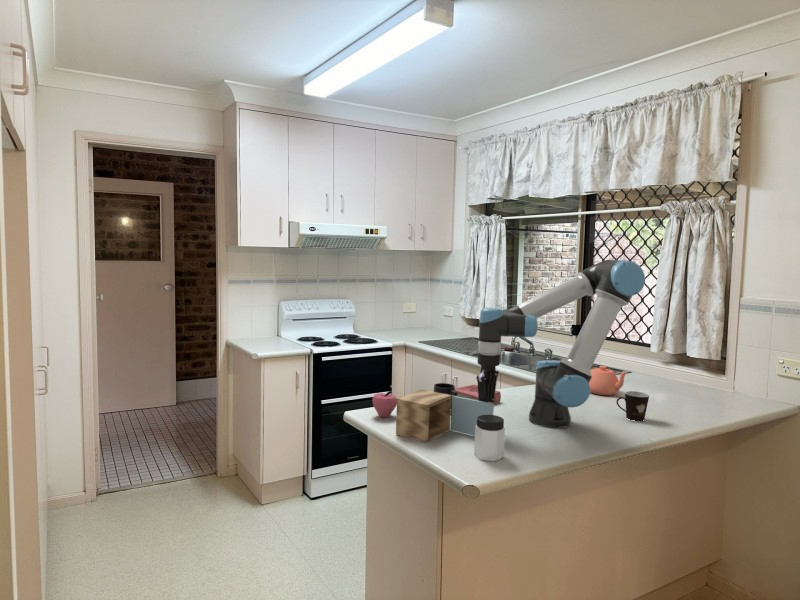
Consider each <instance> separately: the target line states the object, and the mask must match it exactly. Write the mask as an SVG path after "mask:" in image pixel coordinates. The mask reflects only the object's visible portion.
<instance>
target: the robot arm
mask: <svg viewBox="0 0 800 600" xmlns="http://www.w3.org/2000/svg"><path fill="white" fill-rule="evenodd" d="M645 276H646V275H645V273H644V270H643V268H642V267H641V266H640V265H639V264H638V263H636V262H635V261H630V260H626V259H621V260H619V259H605V260H604V259H603V260H602V261H599V262H598V263H595V264H593V265H591V266H589V267H587V268H585V269H583V270H581V271H579V272H578V273H577V275H576V276H575V277H573V278H571V279H569V280H567V281H565V282H563V283H561V284H559V285H557V286H555V287H552V288H550V289H548V290H546V291H544V292H542V293H539V294H538V295H535V296H533V297H532V298H529V299H527V300H526V301H523V302H520V303H519V304H517V305H515V306H512V307H511V308H508V309H507V308H506V309H501V308H497V307H484V308H481V310H480V313H479V321H478V322H479V323H478V325H479V326H478V327H479V328H478V342H477V345H478V346H477V347H478V350H477V351H478V353H477V361H476V362H477V364H478V365H480V370H479V371H480V374H479V375H476V377H475V378H476V381H477V385H478V399H479V401H483V402H488V403H491V402H494V400H492V399H494V395H495V390H497V389H496V388H497V383H498V382H497V380H498V377H499V373H500V372H499V370H497V368H496V367H498V366H500V362H501V355H500V353H501V348H502V347H501V345H502V337H510V338H511V337H512V338H513V337H516V338H518V337H519V338H533V337H535V336H536V334H537V333H538V328H539V327H538V325H539V324H538V319H539V318H541V317H544V316H546V315H548V314H550V313H551V312H553V311H554V312H555V311H556V310H559V309H560V308H562V307H565V306H566V305H568V304H571V303H573V302H575V301H577V300H579V299H581V298H583V297H585V296H588V297H592V296H594V295H596V298H595V300H594V302H593V304H592V306H591V309H590V311H589V313H588V314H587V316H586V319H585V321H584V322H583V324H582V326H581V329H580V331H579V333H578V335H577V337H576V339H575V341H574V343H573V345H572V347H571V349H570V351H569V353H568V355H567V357H566V358H564V359H560V360H549V359H548V360H545V359H544V360H543V359H542V360H539V361H537V364H536V368H535V386H534V387H535V389H534V390H535V391H534V400H533V403H532V406H531V407H530V410H529V413H528V420H529V421H530V422H531V423H533V424H535V425H538V426H541V427H548V428H566V427H569V426H570V425H571V422H572V419H571V414H570V413H571V412H570V410H569V408H571V409H572V408H577V407H580V406H582V405H583V404H585V403H586V402H587V400H588V399H589V397H590V394H591V393H590V386H589V382H590V380H591V378H592V374H591V371H590V370H592V367H593V364H594V362H595V361H596V359H597V357H598V355H599V353H600V351H601V349H602V347H603V345H604V344H605V343H604V342H605V341H606V339H607V337H608V335H609V333H610V330H611V328H612V327H613V324H614V322H615V320H616V318H617V317H618V315H619V312H620V310H621V309H622V308H623V307H625V306H627V305H629V303H630V301H631V298H632V297H634V296H635V295H638V294H639V293H640V292H641V291H642V290H643V289H644V287H645V282H646V277H645Z"/></svg>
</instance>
